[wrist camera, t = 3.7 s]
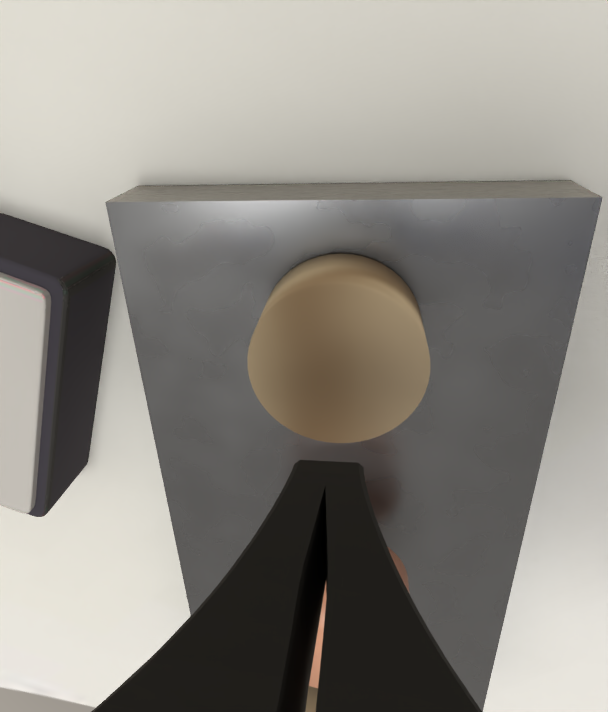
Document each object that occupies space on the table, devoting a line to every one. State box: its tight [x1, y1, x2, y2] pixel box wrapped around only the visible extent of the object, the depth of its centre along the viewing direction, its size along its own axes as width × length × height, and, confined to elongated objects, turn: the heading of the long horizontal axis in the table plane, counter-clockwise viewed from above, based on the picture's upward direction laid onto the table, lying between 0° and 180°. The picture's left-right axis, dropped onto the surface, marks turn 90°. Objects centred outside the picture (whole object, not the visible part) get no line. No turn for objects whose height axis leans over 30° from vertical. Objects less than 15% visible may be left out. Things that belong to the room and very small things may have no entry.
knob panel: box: [106, 180, 602, 711], centre depth 22 cm, size 14×26×2 cm, turn 2°
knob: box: [247, 254, 430, 443], centre depth 15 cm, size 5×5×2 cm
